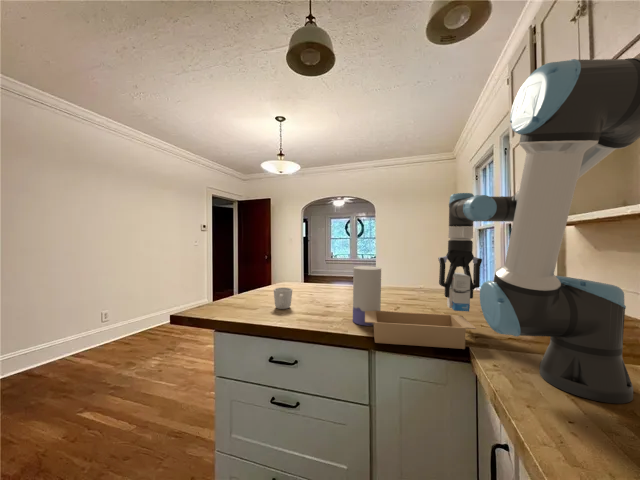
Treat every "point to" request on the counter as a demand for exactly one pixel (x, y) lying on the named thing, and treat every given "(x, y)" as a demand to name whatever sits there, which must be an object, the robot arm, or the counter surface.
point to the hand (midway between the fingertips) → (458, 307)
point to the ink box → (460, 292)
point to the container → (366, 292)
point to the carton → (419, 328)
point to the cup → (282, 297)
